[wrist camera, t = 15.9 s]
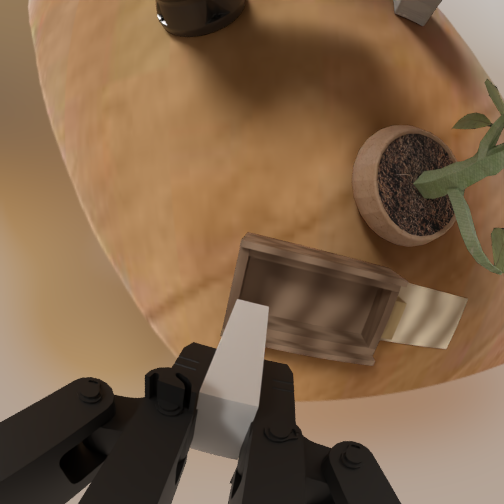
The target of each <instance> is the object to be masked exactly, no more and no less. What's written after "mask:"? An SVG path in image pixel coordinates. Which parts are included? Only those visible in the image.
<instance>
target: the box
mask: <svg viewBox="0 0 504 504" xmlns="http://www.w3.org/2000/svg"><path fill="white" fill-rule="evenodd" d="M407 285H408V281H407V280H405V279H404V278H403V277H401V276H400V275H398V274H397V273H395V272H394V271H393V270H391V269H390V268H387V267H383V266H379V265H376V264H372V263H368V262H364V261H360V260H357V259H353V258H349V257H345V256H341V255H337V254H334V253H330V252H326V251H322V250H318V249H314V248H310V247H306V246H302V245H298V244H294V243H290V242H286V241H282V240H278V239H274V238H270V237H266V236H262V235H257V234H253V233H249V232H248V233H247V234H246V235H245V236H244V237H243V238H242V240H241V243H240V250H239V255H238V259H237V264H236V268H235V273H234V277H233V282H232V287H231V291H230V296H229V300H228V305H227V310H226V314H225V319H224V324H223V328H222V331H221V335H220V336H222V335H223V333H224V330H225V328H226V325H227V323H228V320H229V318H230V315H231V313H232V310H233V308H234V306H235V303H236V301H237V299H240V300H244V301H248V302H252V303H256V304H260V305H264V306H268V307H269V312H268V323H267V333H266V343H265V347H267V348H271V349H276V350H281V351H285V352H290V353H295V354H300V355H306V356H311V357H317V358H322V359H328V360H334V361H341V362H348V363H355V364H362V365H370V366H373V365H374V363H375V360H374V358H373V354H374V352H375V350H376V347H377V345H378V343H379V341H380V339H381V336H382V334H383V332H384V329H385V327H386V325H387V322H388V320H389V317H390V315H391V312H392V310H393V307H394V305H395V302H396V299H397V297H398V294H399V291H400V288H401V286H402V287H406V288H407Z"/></svg>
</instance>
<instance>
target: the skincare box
mask: <svg viewBox="0 0 504 504" xmlns="http://www.w3.org/2000/svg"><path fill="white" fill-rule="evenodd" d="M441 1H442V0H394V11H395V14H398V15H400V16H402V17H405V18H407V19H409V20H412V21H414V22H416V23H418V24H420V25H421V26H424V25H425V24H426V22H427V21H428V19H429V18H430V17H431V15H432V14H433V12H434V11H435V10H436V8H437V7H438V5H439V4H440V3H441Z"/></svg>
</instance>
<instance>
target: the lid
mask: <svg viewBox="0 0 504 504" xmlns="http://www.w3.org/2000/svg"><path fill="white" fill-rule="evenodd" d="M467 300H468V299H467V298H464V297H460V296H456V295H453V294H449V293H445V292H441V291H438V290H434V289H430V288H426V287H422V286H419V285H415V284H411V283H408V285H407V288H406V287H402V286H401V288H400V291H399V294H398V297H397V299H396V302H395V305H394V307H393V310H392V312H391V315H390V317H389V320H388V322H387V325H386V327H385V329H384V332H383V334H382V336H381V339H380V340H382V341H389V342H395V343H402V344H409V345H416V346H424V347H432V348H441V349H447V346H448V344H449V342H450V340H451V338H452V336H453V334H454V332H455V329H456V327H457V325H458V323H459V320H460V318H461V316H462V313H463V311H464V308H465V306H466V303H467Z"/></svg>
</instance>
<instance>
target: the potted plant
mask: <svg viewBox="0 0 504 504" xmlns="http://www.w3.org/2000/svg"><path fill="white" fill-rule="evenodd" d="M485 85H486V87H487V90H488V93H489V96H490V97H491V99H492V101H493V102H494V104H495V105H496V107H497V109H498V111H499V112H500V114H501V116H500V117H499V118H498V119H497V120H496V121H495V123H494V124H492V123H491V122H490V120H489V119H488V118H487V117H486V116H485V115H483V114H479V113H471V114H467V115H466V116H464V117H463V118H461V119H460V120H459V121H458V122H457V123H456V124H455V125H454V126H453V128H455V129H476V128H481V127H485V126H490V127H491V128H490V129H489V131H488V132H487V133H486V135H485V136H484V138H483V139H482V141H481V142H480V146H479V149H478V152H477V153H476V154H475V155H474V156H473V157H471V158H469V159H467V160H465V161H462V162H457V160H456V158H455V156H454V155H453V153H452V151H451V150H450V149H449V147H448V146H447V145H446V144H445V143H444V142H443V141H442V140H441V139H439V138H438V137H437V136H435V135H434V134H432V133H430V132H428V131H425V130H422V129H420V128H417V127H414V126H410V125H393V126H389V127H386V128H383V129H380V130H379V131H377V132H376V133H375V134H373V135H372V136H371V137H369V138H368V139H367V140H366V141H365V143H364V144H363V146H362V147H361V148H360V150H359V152H358V155H357V157H356V160H355V163H354V166H353V175H352V187H353V194H354V199H355V202H356V204H357V207H358V210H359V212H360V214H361V216H362V217H363V218H364V220H365V221H366V223H367V224H368V226H369V227H370V228H371V229H372V230H373V231H374V232H375V233H376V234H378V235H379V236H380V237H381V238H383V239H385V240H387V241H389V242H391V243H393V244H395V245H401V246H407V247H412V246H418V245H424V244H427V243H429V242H431V241H433V240H434V239H436V238H438V237H440V236H442V235H444V234H445V233H446V232H447V231H448V230H449V229H450V228H451V227H452V226H453V224H454V222H455V221H456V220H457V223H458V226H459V229H460V233H461V235H462V238H463V240H464V242H465V245H466V247H467V249H468V251H469V252H470V253H471V255H472V256H473V257H474V259H475V260H476V261H477V263H478V264H480V265H482V266H483V267H485V268H486V269H488V270H489V271H491V272H493V273H496V274H500V275H501V274H502V273H504V228H494V229H493V231H492V233H491V239H492V249H493V258H494V265H492V264H491V263H490V261H489V260H488V258H487V257H486V255H485V254H484V252H483V251H482V248H481V245H480V243H479V240H478V238H477V235H476V231H475V227H474V224H473V220H472V216H471V213H470V209H469V206H468V204H467V202H466V201H465V199H464V197H463V196H464V190H465V188H467V187H468V186H470V185H472V184H474V183H476V182H478V181H479V180H481V179H483V178H485V177H487V176H492V175H496V174H497V173H499V172H500V171H501V170H502V169H503V168H504V143H502V144H500V145H497V146H495V145H496V143H497V141H498V138H499V136H500V134H501V132H502V130H503V128H504V103H503V101H502V99H501V97H500V95H499V92H498V89H497V87H496V86H494V85H493V84H492V83H491V82H490V81H489V80H488V79H486V81H485Z"/></svg>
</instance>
